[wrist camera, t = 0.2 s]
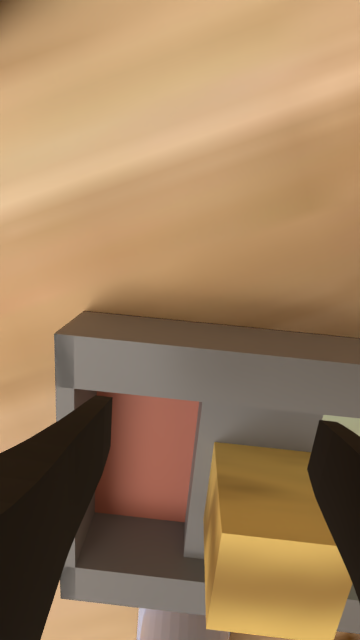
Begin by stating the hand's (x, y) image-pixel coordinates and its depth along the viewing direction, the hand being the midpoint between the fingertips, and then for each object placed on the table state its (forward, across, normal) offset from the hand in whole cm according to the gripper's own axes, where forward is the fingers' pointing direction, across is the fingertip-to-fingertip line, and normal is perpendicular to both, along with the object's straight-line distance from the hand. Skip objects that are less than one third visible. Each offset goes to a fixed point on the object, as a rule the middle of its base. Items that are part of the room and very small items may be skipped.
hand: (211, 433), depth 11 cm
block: (+7, -4, +8) cm, 12 cm away
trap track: (+10, -8, +8) cm, 15 cm away
